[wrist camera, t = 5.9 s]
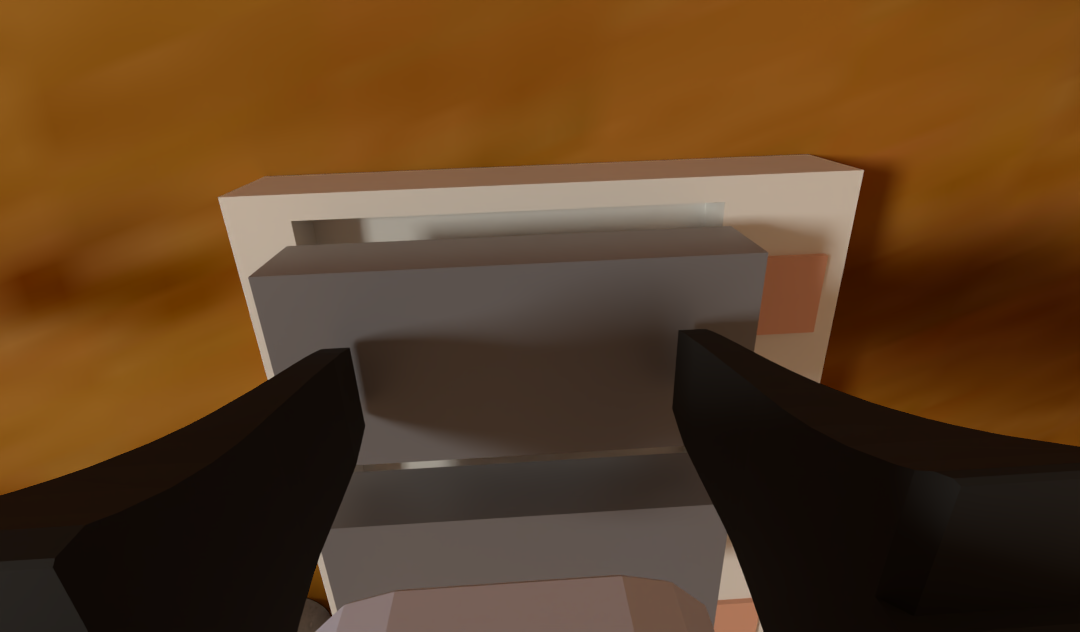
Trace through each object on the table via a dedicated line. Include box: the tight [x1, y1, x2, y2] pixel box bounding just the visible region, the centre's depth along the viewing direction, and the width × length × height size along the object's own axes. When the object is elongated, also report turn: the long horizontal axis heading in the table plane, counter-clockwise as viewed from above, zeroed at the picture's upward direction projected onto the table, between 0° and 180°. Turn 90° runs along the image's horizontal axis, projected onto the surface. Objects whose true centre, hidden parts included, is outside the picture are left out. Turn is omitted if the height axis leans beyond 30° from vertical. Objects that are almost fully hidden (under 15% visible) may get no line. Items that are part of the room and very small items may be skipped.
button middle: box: [321, 452, 727, 628], centre depth 17 cm, size 11×5×2 cm, turn 92°
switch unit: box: [218, 154, 864, 632], centre depth 20 cm, size 17×21×3 cm
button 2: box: [248, 226, 768, 465], centre depth 14 cm, size 11×5×2 cm, turn 92°
